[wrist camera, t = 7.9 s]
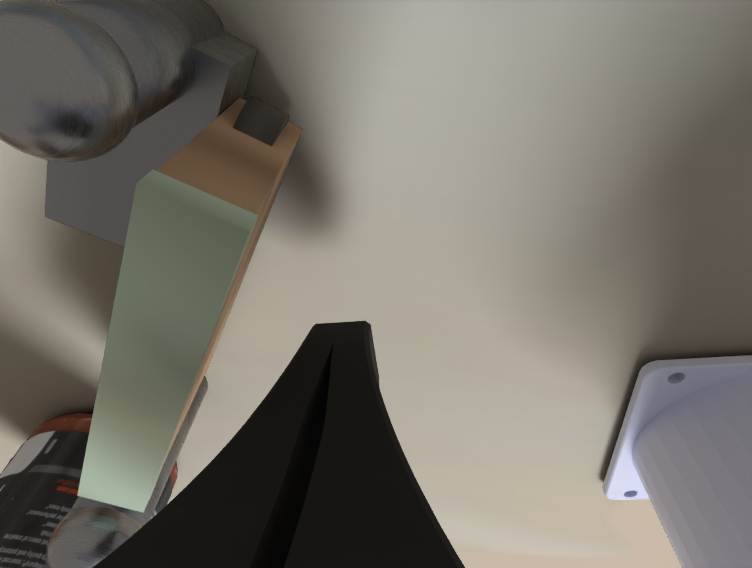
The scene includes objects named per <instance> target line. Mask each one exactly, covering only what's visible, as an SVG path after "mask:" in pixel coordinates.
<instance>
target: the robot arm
mask: <svg viewBox="0 0 752 568" xmlns="http://www.w3.org/2000/svg"><path fill="white" fill-rule="evenodd" d="M602 488H603V491H604V494H605V496H606V497H607V498H609V499H612V500H633V499H650V501H651V503H652V505H653V507H654V509H655V511H656V514H657V516H658V518H659V520H660V522H661V524H662V526H663V528H664V531H665V533H666V535H667V537H668V539H669V541H670V543H671V545H672V547H673V550H674V552H675V554H676V556H677V558H678V560H679V562H680V564H681V567H682V568H752V355H746V356H728V357H710V358H691V359H673V360H657V361H652V362H649V363H647V364H646V365H644V366H643V367H642V368H641V370H640V372H639V374H638V377H637V381H636V384H635V387H634V390H633V393H632V396H631V399H630V402H629V405H628V409H627V412H626V415H625V418H624V421H623V424H622V427H621V430H620V433H619V437H618V440H617V443H616V446H615V449H614V452H613V455H612V458H611V461H610V465H609V468H608V471H607V474H606V477H605V480H604V483H603V486H602ZM92 568H465V567H464V565H463V564H462V562H461V560H460V559H459V557H458V555H457V554H456V552H455V550H454V548H453V547H452V545H451V543H450V542H449V540H448V538H447V536H446V535H445V533H444V531H443V529H442V528H441V526H440V524H439V522H438V521H437V519H436V517H435V515H434V513H433V511H432V509H431V507H430V505H429V503H428V502H427V500H426V498H425V496H424V494H423V492H422V490H421V488H420V486H419V484H418V482H417V480H416V478H415V476H414V474H413V472H412V470H411V468H410V466H409V464H408V461H407V459H406V457H405V455H404V453H403V450H402V448H401V446H400V443H399V441H398V439H397V436H396V434H395V431H394V429H393V426H392V424H391V421H390V418H389V416H388V413H387V410H386V407H385V405H384V402H383V398H382V395H381V392H380V389H379V375H378V368H377V362H376V356H375V350H374V344H373V337H372V331H371V325H370V324H369V323H368V322H366V321H356V322H340V323H324V324H315V325H314V326H313V327H312V329H311V330H310V332H309V333H308V335H307V337H306V338H305V340H304V342H303V343H302V345H301V346H300V348H299V349H298V351H297V353H296V354H295V356H294V357H293V359H292V360H291V362H290V363H289V365H288V366H287V368H286V369H285V371H284V372H283V373H282V375H281V376H280V378H279V379H278V381H277V382H276V383H275V385H274V386H273V388H272V389H271V390H270V392H269V393H268V395H267V396H266V397H265V398H264V400H263V401H262V402H261V404H260V405H259V406H258V407H257V409H256V410H255V411H254V413H253V414H252V415H251V416H250V418H249V419H248V420H247V421H246V423H245V424H244V425H243V426H242V428H241V429H240V430H239V431H238V432H237V433H236V435H235V436H234V437H233V438H232V439H231V440H230V442H229V443H228V444H227V445H226V446H225V447H224V448H223V449H222V450H221V451H220V453H219V454H218V455H217V456H216V457H215V458H214V459H213V460H212V461H211V462H210V463H209V464H208V465H207V466H206V467H205V468H204V469H203V470H202V471H201V472H200V473H199V474H198V475H197V476H196V477H195V478H194V479H193V480H192V481H191V482H190V483H189V485H188V486H187V487H186V488H184V489H183V490H182V491H181V492H180V493H179V494H178V495H177V496H176V497H175V498H174V499H173V500H172V501H171V502H170V503H169V504H168V505H166V506H165V507H164V508H163V509H162V510H161V511H160V512H158V513H157V514H156V515H155V516H154V517H153V518H152V519H150V520H149V521H148V522H147V523H146V524H145V525H144V526H142V527H141V528H140V529H139V530H138V531H137V532H136V533H134V534H133V535H132V536H131V537H130V538H129V539H127V540H126V541H125V542H124V543H123V544H121V545H120V546H119V547H118V548H117V549H115V550H114V551H113V552H112V553H110V554H109V555H108V556H107V557H105V558H104V559H103V560H102V561H100V562H99V563H98V564H96V565H95V566H94V567H92Z"/></svg>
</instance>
